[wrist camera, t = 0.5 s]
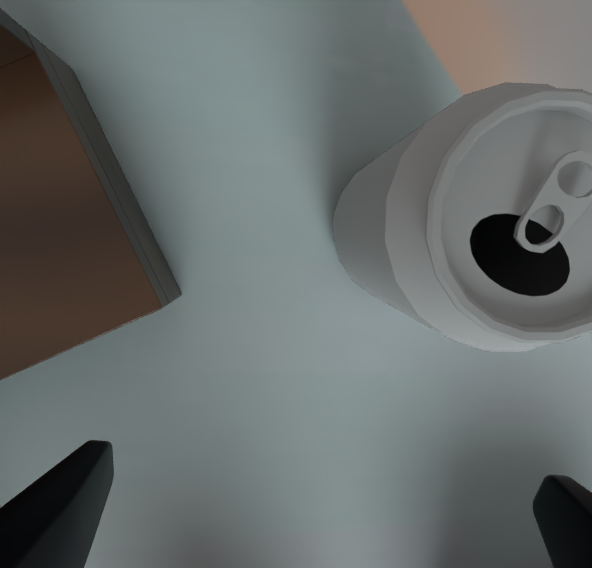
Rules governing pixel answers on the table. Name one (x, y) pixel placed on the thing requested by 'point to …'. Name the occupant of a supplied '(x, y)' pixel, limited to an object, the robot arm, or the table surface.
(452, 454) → the table surface
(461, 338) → the can
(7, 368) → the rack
